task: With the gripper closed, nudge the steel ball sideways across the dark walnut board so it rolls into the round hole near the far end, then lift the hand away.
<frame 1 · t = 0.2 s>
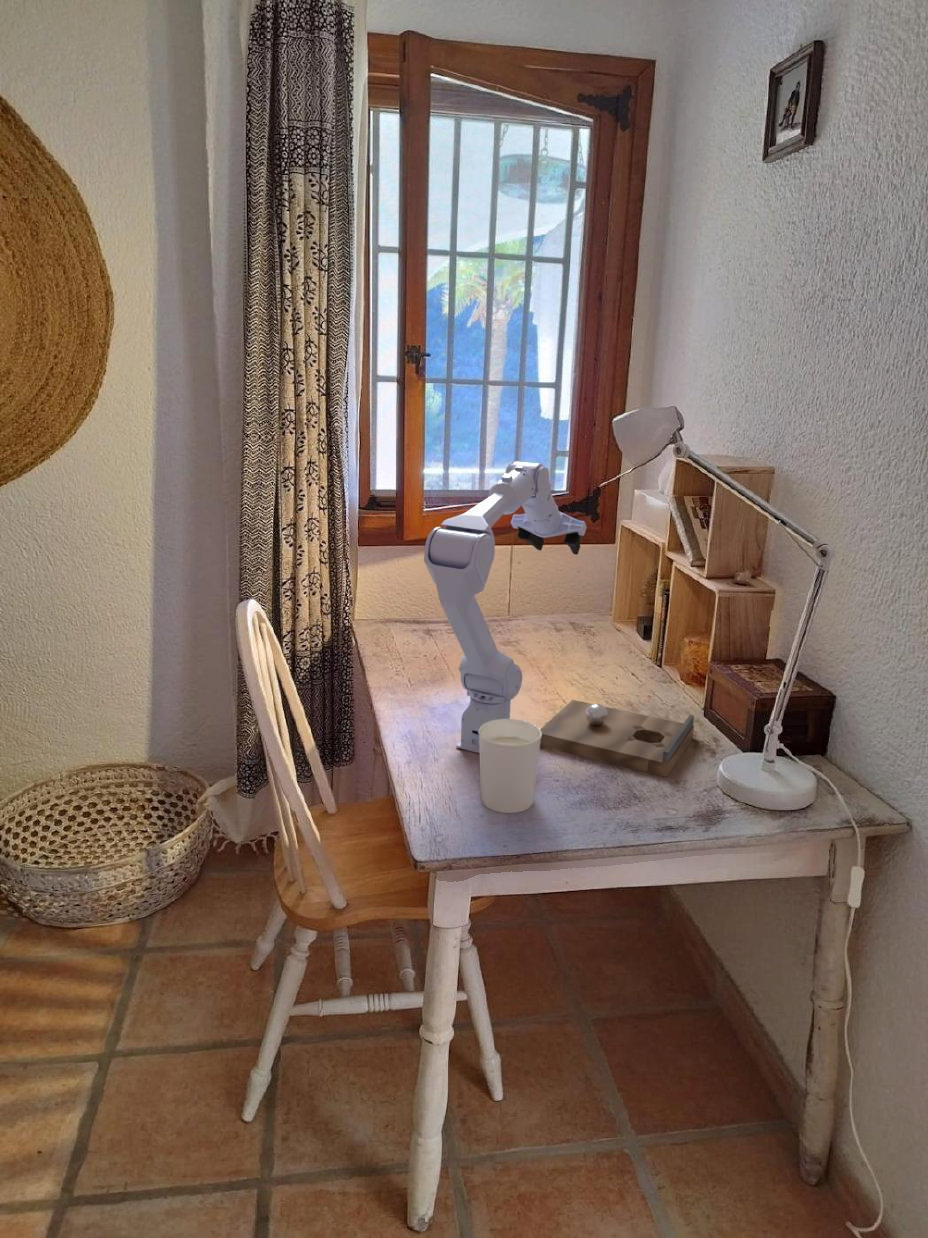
hand: (559, 548, 176), 31 cm above the table, tool tilted 45°, fingers open, 7 cm apart
candle holder: (507, 801, 141), on the table
ball: (596, 714, 164), point 4 cm above the table, touching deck
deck: (620, 742, 163), on the table
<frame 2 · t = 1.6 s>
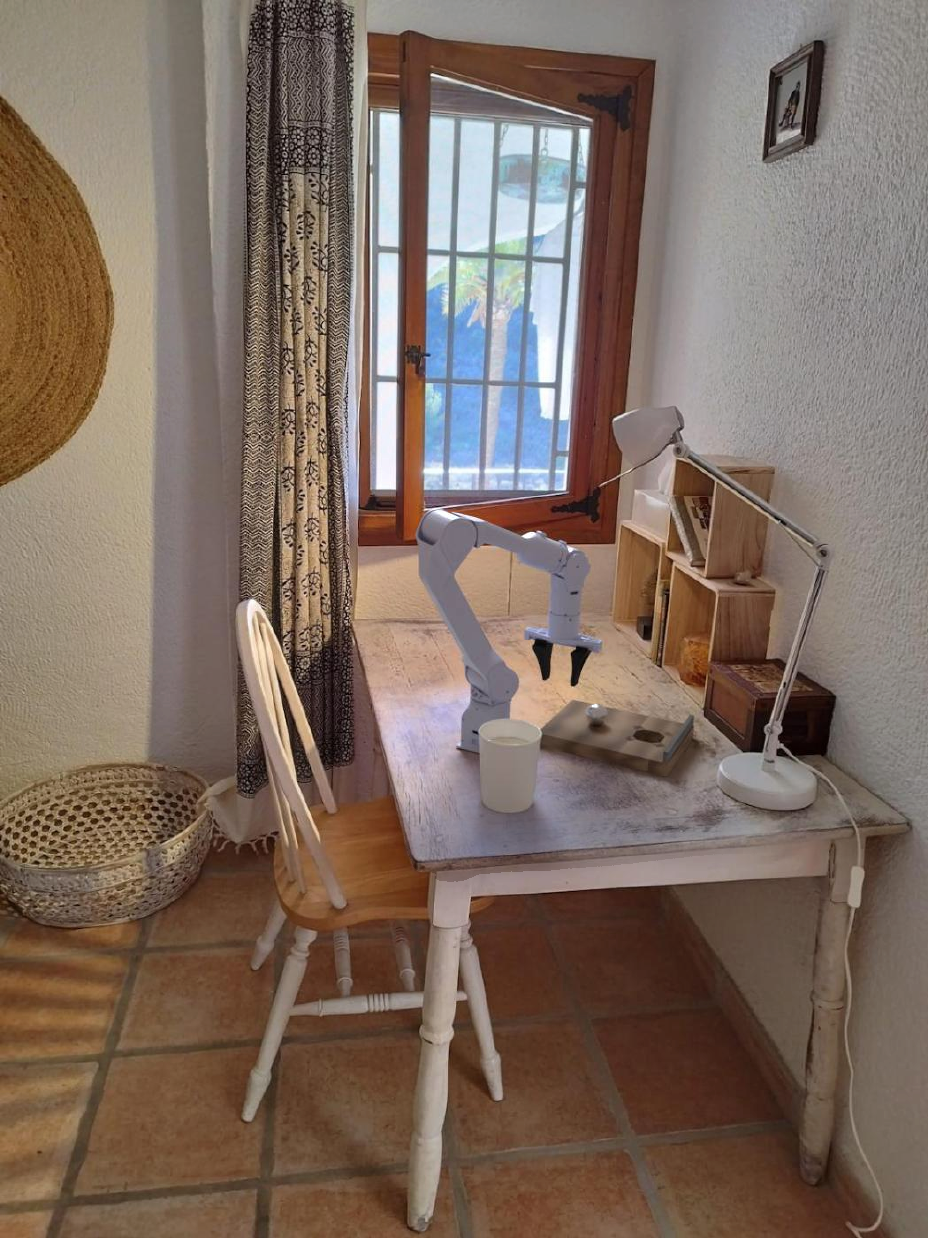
hand: (560, 681, 166), 9 cm above the table, tool pointing down, fingers open, 5 cm apart
nothing on the table moved.
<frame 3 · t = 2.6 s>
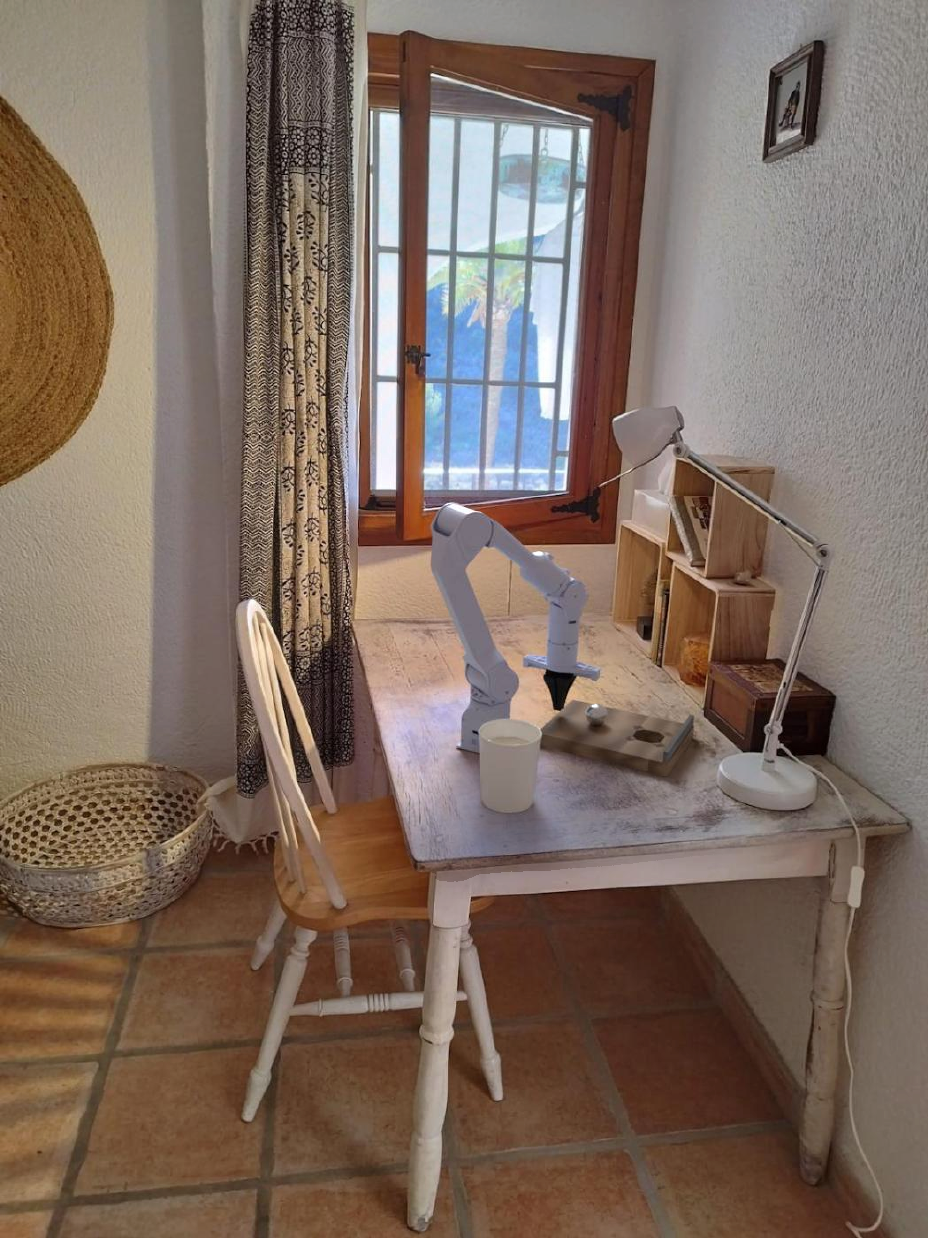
hand: (558, 708, 167), 4 cm above the table, tool pointing down, fingers closed
nothing on the table moved.
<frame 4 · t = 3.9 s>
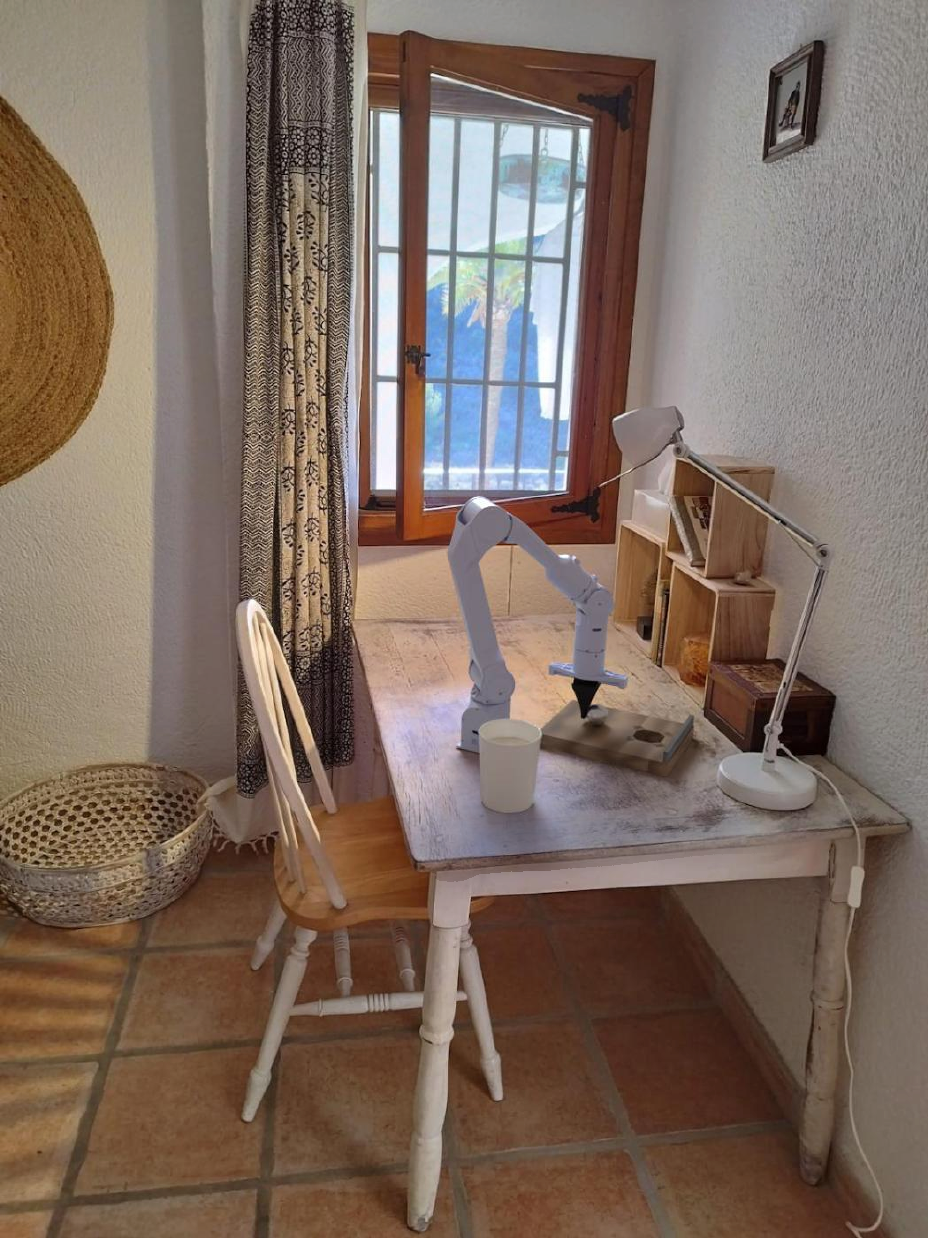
hand: (584, 716, 165), 3 cm above the table, tool pointing down, fingers closed, pressing on ball
ball: (597, 714, 164), point 4 cm above the table, touching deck, gripper
everything else where it was.
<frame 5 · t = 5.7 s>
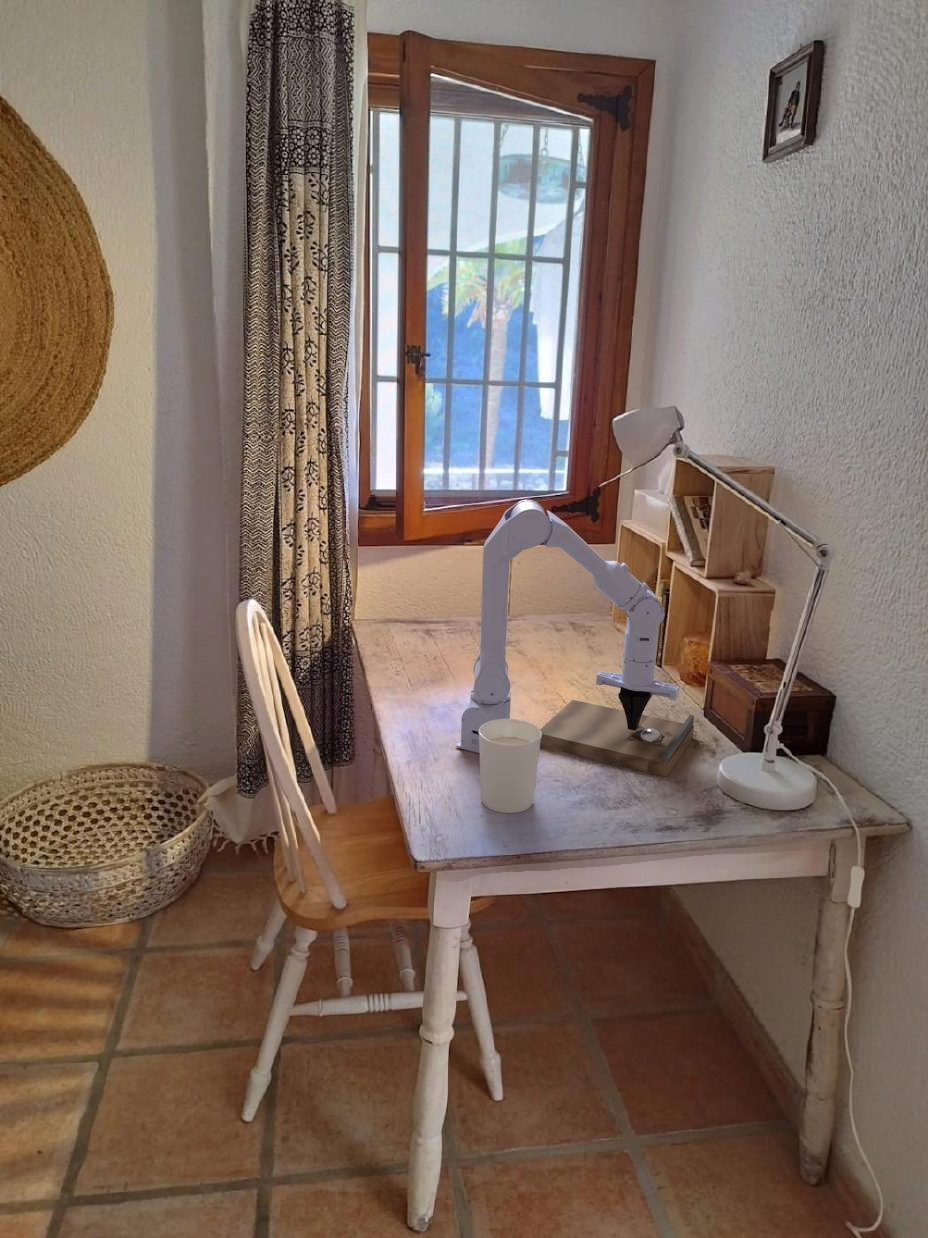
hand: (632, 728, 161), 3 cm above the table, tool pointing down, fingers closed
ball: (650, 739, 160), point 2 cm above the table, tilted 52°
everything else where it was.
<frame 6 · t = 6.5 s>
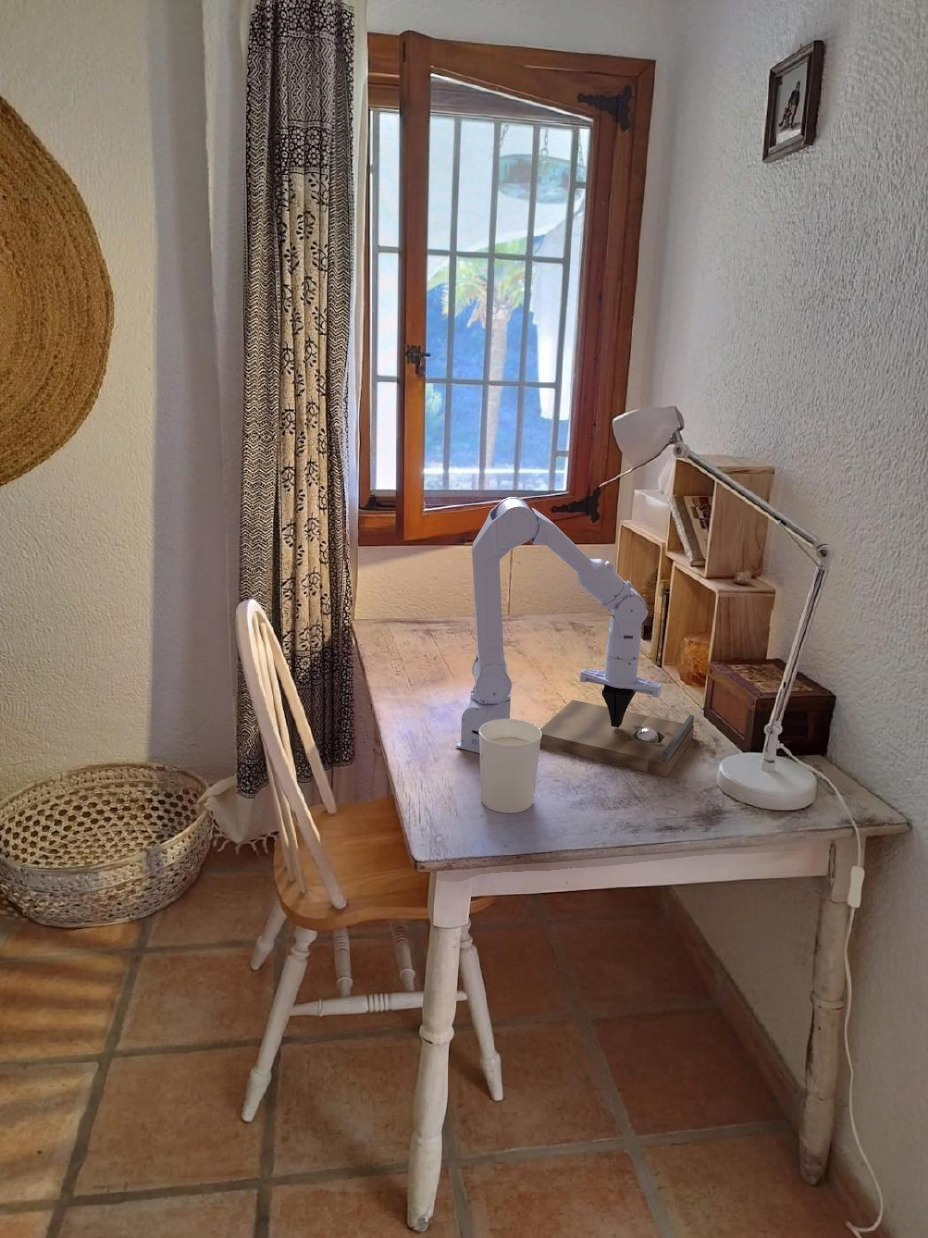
hand: (616, 725, 162), 3 cm above the table, tool pointing down, fingers closed
ball: (647, 738, 160), point 2 cm above the table, tilted 34°
everything else where it was.
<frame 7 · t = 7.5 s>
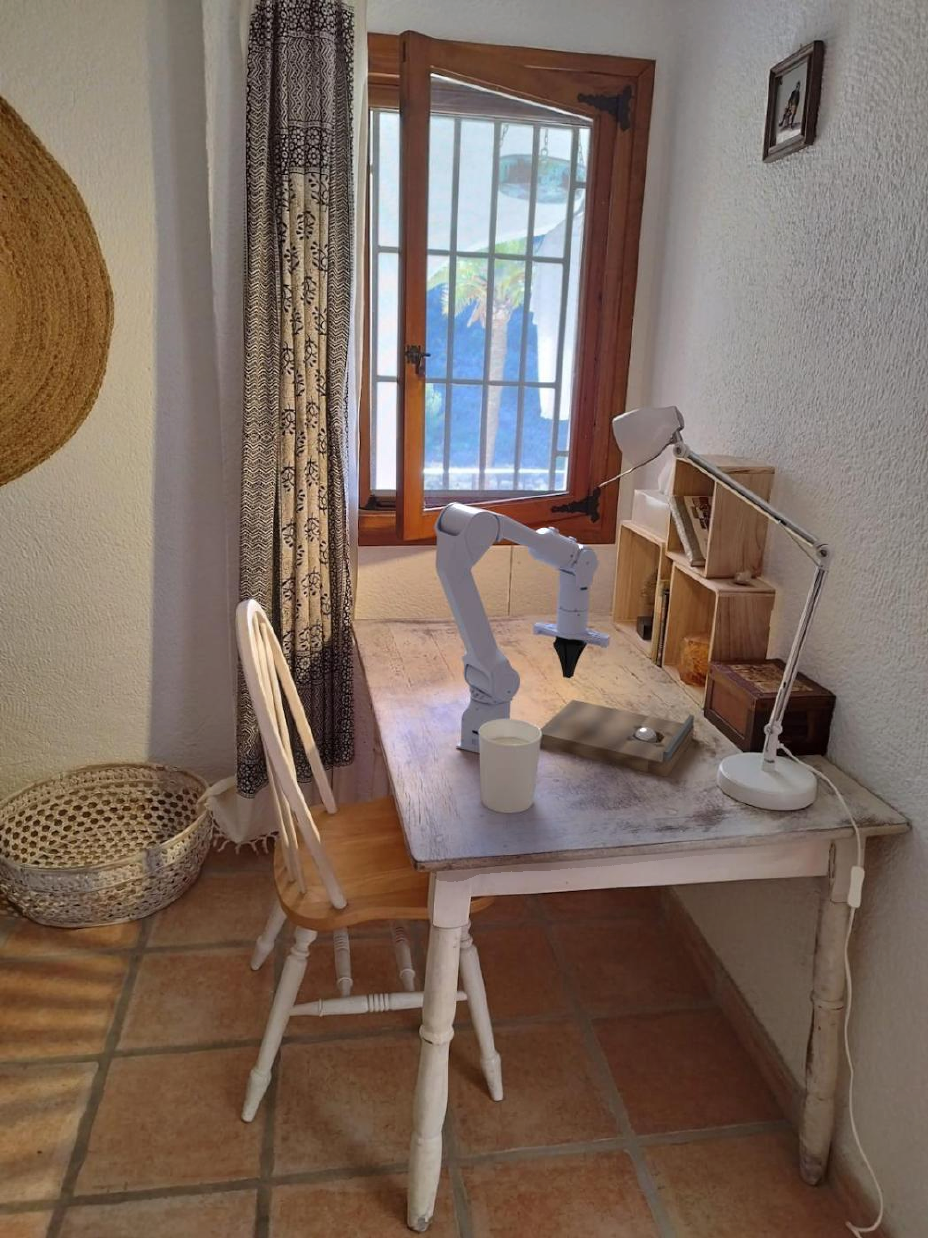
hand: (568, 676, 168), 9 cm above the table, tool pointing down, fingers closed
ball: (645, 738, 160), point 2 cm above the table, tilted 25°
everything else where it was.
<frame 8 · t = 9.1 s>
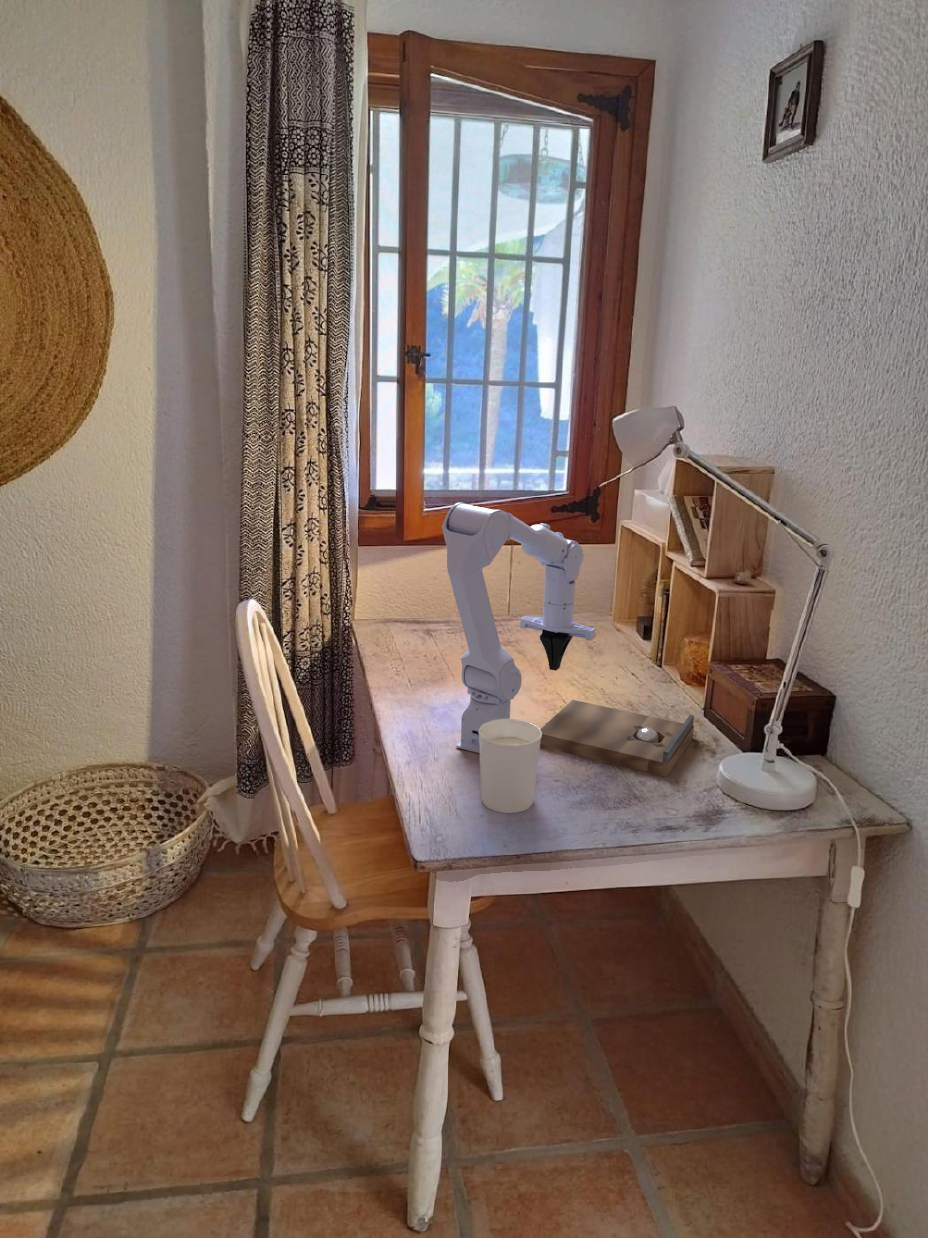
hand: (554, 668, 172), 9 cm above the table, tool pointing down, fingers closed
ball: (647, 738, 160), point 2 cm above the table, tilted 33°
everything else where it was.
at the end: ball 0.2 cm from the target spot on the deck, point 2.0 cm above the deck's base; ball moved 10.1 cm from its start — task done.
